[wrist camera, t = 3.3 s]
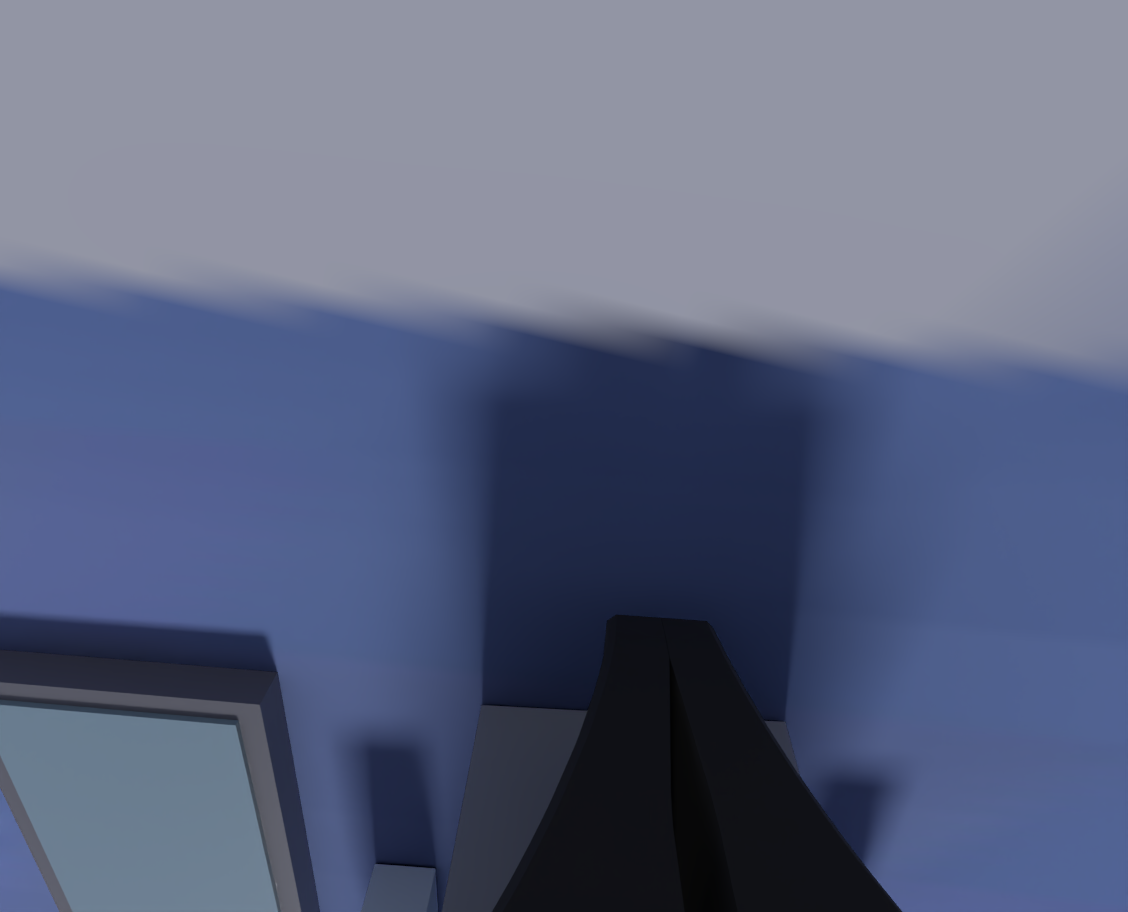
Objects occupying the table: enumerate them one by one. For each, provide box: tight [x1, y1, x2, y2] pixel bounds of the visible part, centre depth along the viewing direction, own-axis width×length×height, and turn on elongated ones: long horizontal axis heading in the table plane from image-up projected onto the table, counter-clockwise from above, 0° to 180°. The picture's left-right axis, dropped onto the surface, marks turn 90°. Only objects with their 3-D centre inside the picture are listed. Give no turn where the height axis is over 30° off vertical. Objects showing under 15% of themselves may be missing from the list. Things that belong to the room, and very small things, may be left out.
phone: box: [0, 650, 320, 912], centre depth 14 cm, size 5×9×1 cm, turn 177°
